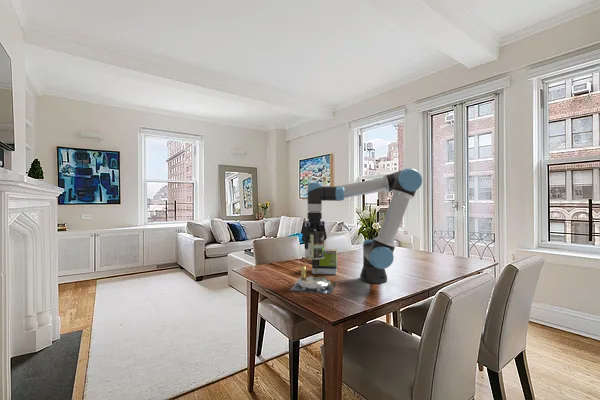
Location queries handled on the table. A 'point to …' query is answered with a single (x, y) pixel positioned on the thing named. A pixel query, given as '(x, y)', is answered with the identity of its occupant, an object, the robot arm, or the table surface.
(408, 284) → the table surface
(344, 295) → the table surface
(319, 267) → the tea box
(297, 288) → the base plate
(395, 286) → the table surface
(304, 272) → the sprocket
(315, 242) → the coffee can
